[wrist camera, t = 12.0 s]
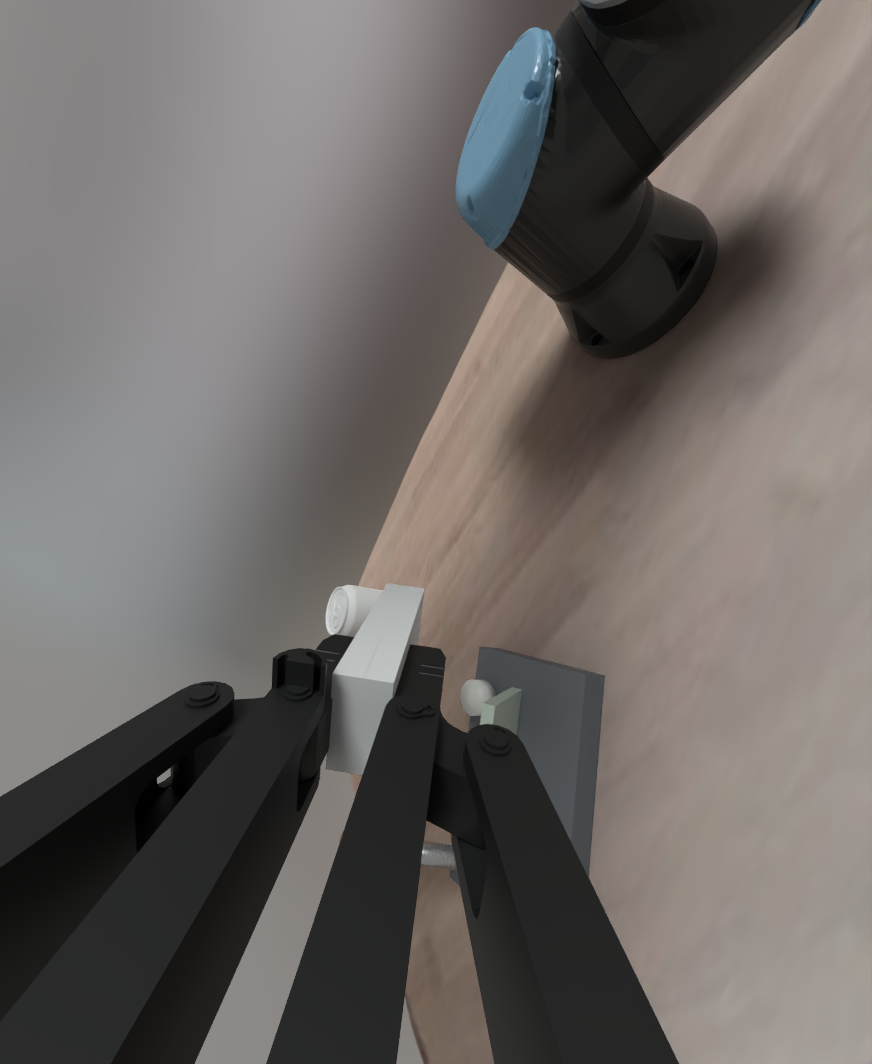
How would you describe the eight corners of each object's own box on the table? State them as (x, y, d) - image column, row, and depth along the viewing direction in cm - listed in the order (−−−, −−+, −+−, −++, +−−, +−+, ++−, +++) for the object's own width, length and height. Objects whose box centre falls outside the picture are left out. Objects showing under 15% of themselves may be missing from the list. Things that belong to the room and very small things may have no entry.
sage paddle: (512, 687, 41) (482, 703, 32) (521, 689, 40) (495, 706, 31) (506, 733, 40) (474, 763, 31) (516, 736, 40) (487, 767, 31)
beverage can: (420, 593, 65) (351, 582, 58) (414, 646, 63) (342, 640, 57) (393, 594, 72) (329, 584, 65) (387, 642, 70) (320, 636, 63)
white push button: (474, 676, 46) (462, 675, 45) (497, 684, 43) (485, 684, 42) (470, 709, 46) (458, 710, 45) (493, 720, 43) (480, 720, 42)
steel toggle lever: (488, 835, 40) (346, 812, 41) (493, 854, 37) (339, 830, 37) (483, 871, 40) (340, 848, 40) (488, 894, 37) (333, 869, 37)
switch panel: (498, 648, 49) (479, 646, 48) (604, 675, 38) (585, 674, 36) (470, 869, 45) (449, 875, 44) (580, 972, 34) (558, 987, 32)
